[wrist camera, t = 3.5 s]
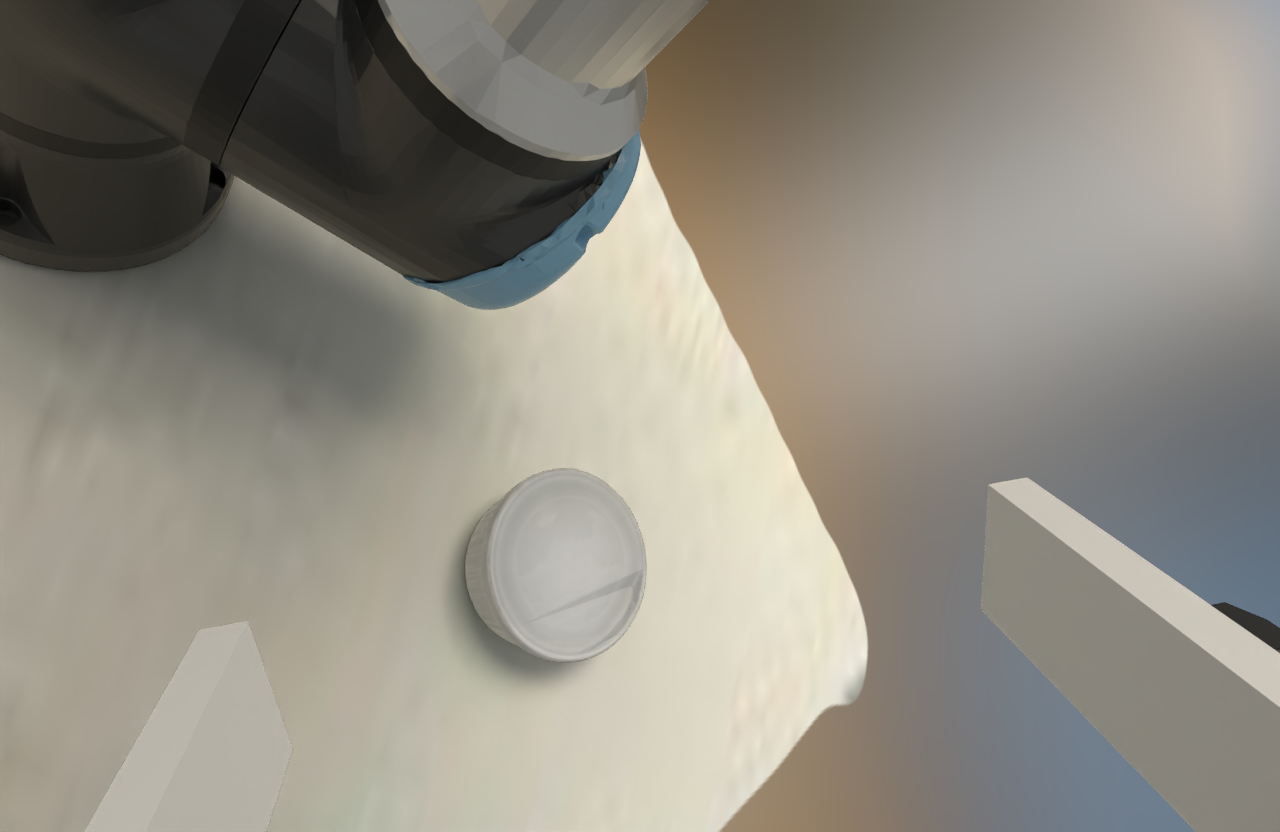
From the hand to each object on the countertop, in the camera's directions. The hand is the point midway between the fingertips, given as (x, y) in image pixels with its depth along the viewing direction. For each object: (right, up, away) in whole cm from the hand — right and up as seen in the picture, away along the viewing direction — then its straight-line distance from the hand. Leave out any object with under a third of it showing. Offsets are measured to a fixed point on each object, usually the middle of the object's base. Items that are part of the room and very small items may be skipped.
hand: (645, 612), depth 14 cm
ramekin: (-7, -6, +37) cm, 39 cm away
